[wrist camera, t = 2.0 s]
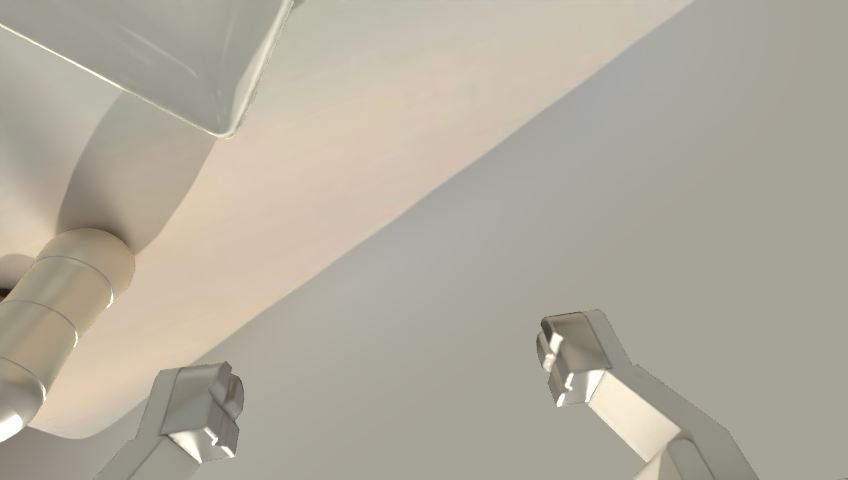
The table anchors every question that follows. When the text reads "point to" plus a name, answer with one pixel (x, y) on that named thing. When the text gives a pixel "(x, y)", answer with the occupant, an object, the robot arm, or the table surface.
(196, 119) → the square plate
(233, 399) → the robot arm
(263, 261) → the table surface
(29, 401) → the plastic bottle
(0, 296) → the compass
